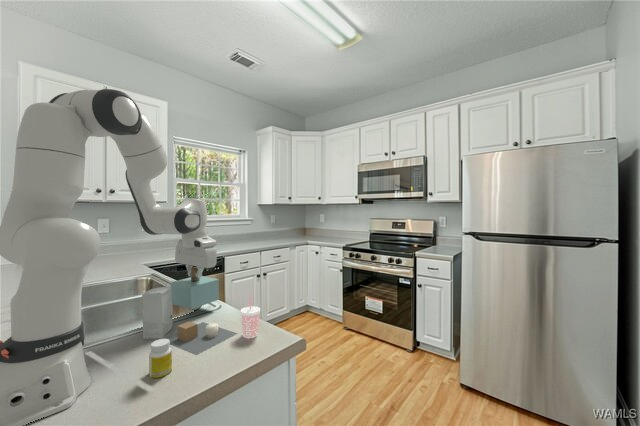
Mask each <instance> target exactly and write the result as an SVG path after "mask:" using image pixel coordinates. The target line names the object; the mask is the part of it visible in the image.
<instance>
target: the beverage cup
mask: <svg viewBox="0 0 640 426" xmlns="http://www.w3.org/2000/svg"><path fill="white" fill-rule="evenodd" d="M260 313H261V307H258V306H256V305H255V306H254V305H252V293H250V294H249V306H245V307H243V308H241V309H240V315H241V326H242V327H241V329H242V330H241V331H242V337H243V338H245V339H254V338H256V337H258V336H259V327H260V326H259V325H260Z"/></svg>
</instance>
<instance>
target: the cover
mask: <svg viewBox="0 0 640 426" xmlns="http://www.w3.org/2000/svg"><path fill="white" fill-rule="evenodd" d="M197 271H198V269H197V266H192V268H191V276H189V277H187V278H183V279H178V280H174V281H171V282H170V287H171V292H172V305H175V306H178V307H182V308H184V309H189V310H194V309H197V308H199V307H203V306H205V305H208V304H211V303H213V302H216V301H219V300H220V279H219V278H215V277H214V278H213V277H209V276H206V275H205V276H203V275H202V277H201V278H196V277H195V276H196V275H195V273H197Z"/></svg>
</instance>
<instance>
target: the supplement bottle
mask: <svg viewBox="0 0 640 426" xmlns="http://www.w3.org/2000/svg"><path fill="white" fill-rule="evenodd" d="M170 345H171V344H170V340H169V339H163V338H159V339H157V340H155V341H153V342H151V343H150V351H149V354H148V358H149V359H148V364H149V365H148V367H149V368H148V371H149V372H148V374H149V378H151V379H162V378H164V377H166V376H169V375H170V374H171V372H172V368H173V367H172V360H173V359H172V355H173V353H172V347H170Z"/></svg>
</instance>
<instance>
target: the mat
mask: <svg viewBox="0 0 640 426" xmlns="http://www.w3.org/2000/svg"><path fill="white" fill-rule="evenodd" d="M238 334H239V333H238V332H235V331H231V330H228V329H226V328H222V327H219V324H218V323H216V322H215V323H214V322H213V323H207V322H204V321H202V322H201V323H196V322H193V321H187V322H185V323H182V324H179V325H177V332H176V333H173V334H171V335H168V336H167V337H163V338H162V339H169V340H170V345H171V346H173V347H176V348H178V349H181V350H184V352H185V351H186V352H187V353H190V354H193V355H195V356H197V355H200V354H201V353H204V352H205V351H208V350H210V349H211V348H213V347H214V346H217V345H219V344H221V343H223V342H225V341H226V340H228V339H230V338H232V337H234V336H236V335H238Z"/></svg>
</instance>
